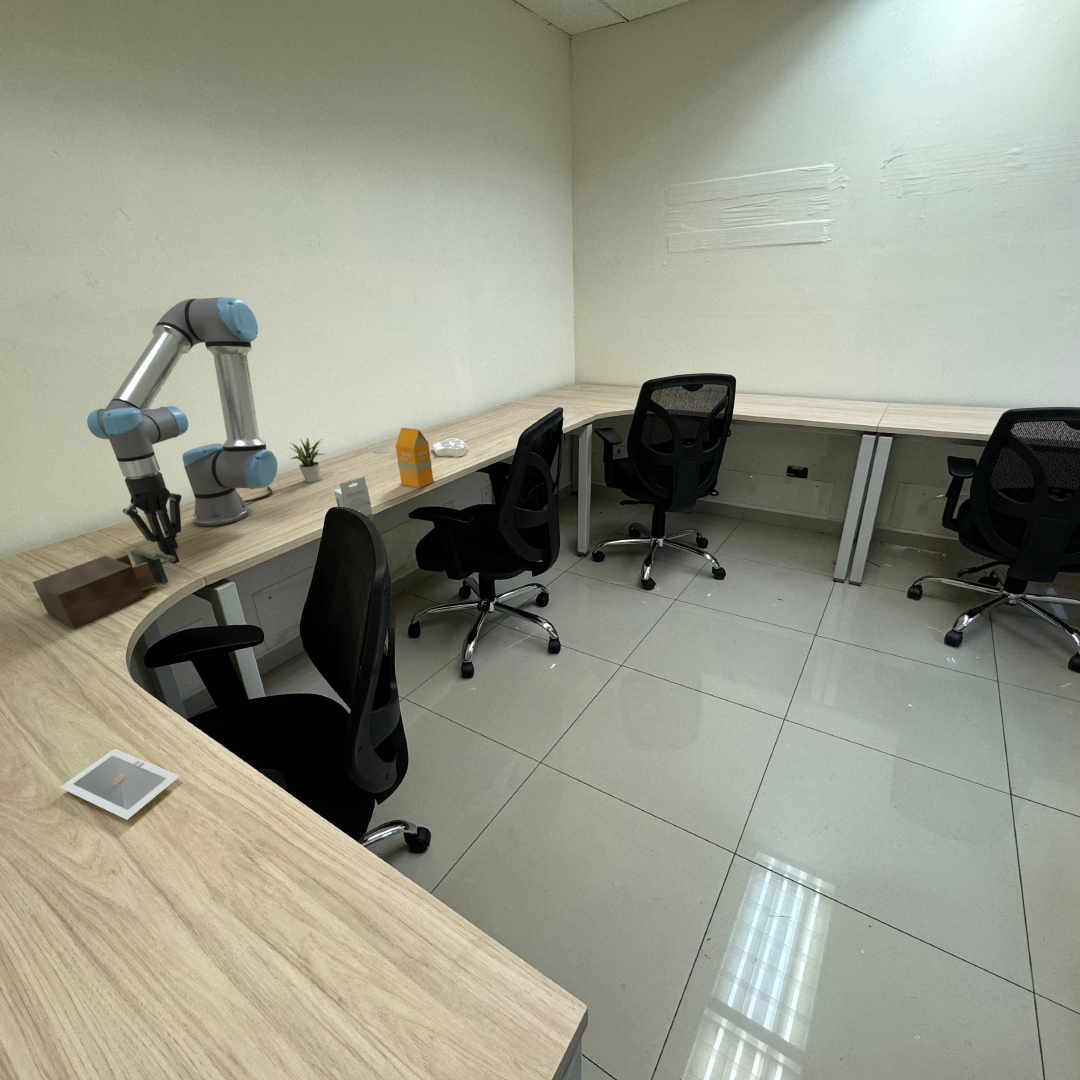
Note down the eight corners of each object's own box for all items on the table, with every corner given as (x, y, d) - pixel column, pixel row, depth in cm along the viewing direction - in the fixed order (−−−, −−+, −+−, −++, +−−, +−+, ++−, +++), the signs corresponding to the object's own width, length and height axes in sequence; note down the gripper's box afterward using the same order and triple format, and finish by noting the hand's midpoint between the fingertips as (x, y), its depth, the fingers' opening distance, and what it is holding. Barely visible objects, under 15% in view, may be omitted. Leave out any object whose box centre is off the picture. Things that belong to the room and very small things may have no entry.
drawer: (161, 565, 145) (152, 542, 142) (185, 574, 140) (177, 550, 137) (84, 597, 132) (73, 572, 129) (108, 608, 126) (97, 582, 123)
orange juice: (419, 488, 196) (411, 432, 187) (401, 484, 200) (392, 430, 192) (433, 481, 202) (426, 427, 193) (416, 478, 206) (408, 424, 197)
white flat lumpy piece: (431, 448, 243) (464, 444, 247) (437, 459, 227) (472, 454, 231) (430, 440, 241) (463, 436, 245) (436, 451, 226) (471, 446, 230)
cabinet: (117, 586, 138) (105, 555, 134) (144, 597, 132) (131, 566, 128) (48, 614, 127) (32, 582, 123) (74, 629, 121) (58, 595, 117)
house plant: (339, 481, 206) (330, 438, 199) (300, 489, 199) (290, 445, 192) (328, 472, 217) (320, 431, 210) (291, 480, 210) (281, 437, 203)
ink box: (366, 517, 172) (358, 472, 166) (374, 521, 169) (366, 476, 163) (340, 526, 167) (330, 480, 161) (348, 530, 164) (338, 483, 157)
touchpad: (129, 825, 75) (124, 814, 74) (62, 792, 81) (56, 782, 80) (182, 781, 82) (178, 770, 81) (117, 753, 87) (112, 743, 86)
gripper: (161, 465, 139) (190, 549, 149) (104, 480, 129) (139, 569, 139) (178, 468, 136) (206, 554, 146) (121, 484, 126) (155, 575, 135)
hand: (173, 561), depth 142 cm, fingers closed
